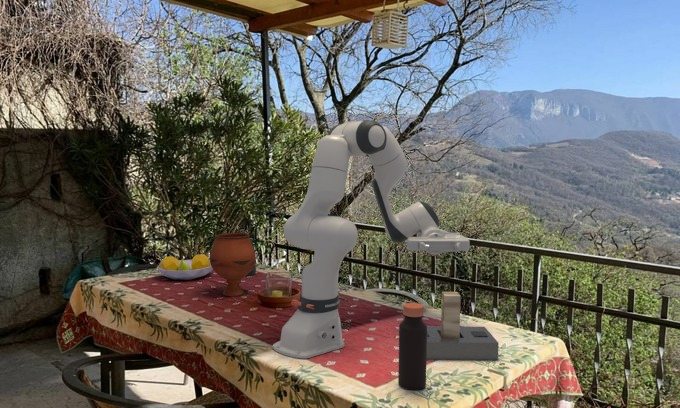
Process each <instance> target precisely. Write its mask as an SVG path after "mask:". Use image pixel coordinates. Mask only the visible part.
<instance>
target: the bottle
mask: <svg viewBox="0 0 680 408" xmlns="http://www.w3.org/2000/svg"><path fill="white" fill-rule="evenodd" d="M402 307H403V308H402V310H403V311H402V313H403V317H404V319H403V320H402V321H401V322H400V323H399V326H398V369H397V370H398V372H397V373H398V376H397V377H398V379H397V381H398V385H399V386H400V387H401V388H402V387H403V388H402V389H404V390H405V389H406V390H409V391H419V390H423V389H424V388H425V387H426V385H427V360H426V356H427V326H428V325H427V324H426V323H425V321H424V320H423V317H424V313H425V312H424V308H425V307H424V305H423V304H422V303H418V302H409V303H408V302H407V303H404V304H403V306H402Z"/></svg>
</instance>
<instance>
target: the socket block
mask: <svg viewBox="0 0 680 408" xmlns="http://www.w3.org/2000/svg"><path fill="white" fill-rule="evenodd" d="M426 326H427V356H426V361H427V360H428V361H429V360H434V361H440V360H441V361H442V360H443V361H449V360H450V361H499V341H497V339H496V338H495V337H494V336H493V335H492V334H491V332H490V331H489V330H488V329H487V328H486V326H464V325H462V326H461V325H460V338H441V325H437V326H435V325H426Z"/></svg>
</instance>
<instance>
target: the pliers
mask: <svg viewBox="0 0 680 408" xmlns="http://www.w3.org/2000/svg"><path fill="white" fill-rule="evenodd" d="M338 295H339V303H342V301H344V302H348V299H347V298H345V297H343V296H341V295H340V292H339V291H338Z"/></svg>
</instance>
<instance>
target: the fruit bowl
mask: <svg viewBox="0 0 680 408" xmlns="http://www.w3.org/2000/svg"><path fill="white" fill-rule="evenodd" d="M156 269H157V270H158V271H159V273H160V274H161V275H162V276H164V277H167V278H168V279H172V280H179V281H180V280H181V281H182V280H184V281H191V280H195V279H197V278H201V277H203V276H206V275H208V274H209V273H210V272H213V271H214V270H213V268H212V267H211V264H210V258H208V256H207V255H206V254H204V253H203V254H201V253H200V254H195V255H194V256H193V258H192V259H180V260H179V259H178V258H176V257H175V256H173V255H169V256H165V257H164V258H162V259H161V260H160V263H159V265H157V266H156Z"/></svg>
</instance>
